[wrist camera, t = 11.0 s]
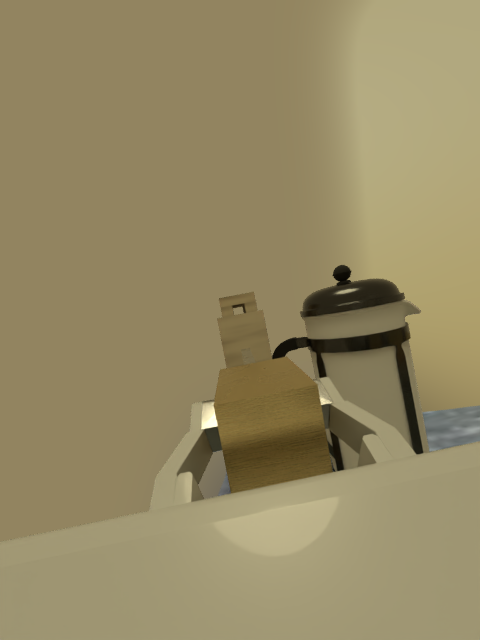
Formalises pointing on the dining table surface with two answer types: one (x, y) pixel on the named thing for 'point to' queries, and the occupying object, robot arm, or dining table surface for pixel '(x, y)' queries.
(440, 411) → the dining table surface
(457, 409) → the dining table surface
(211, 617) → the robot arm
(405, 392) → the coffee press
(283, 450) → the beige mallet
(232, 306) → the birch bearing block
